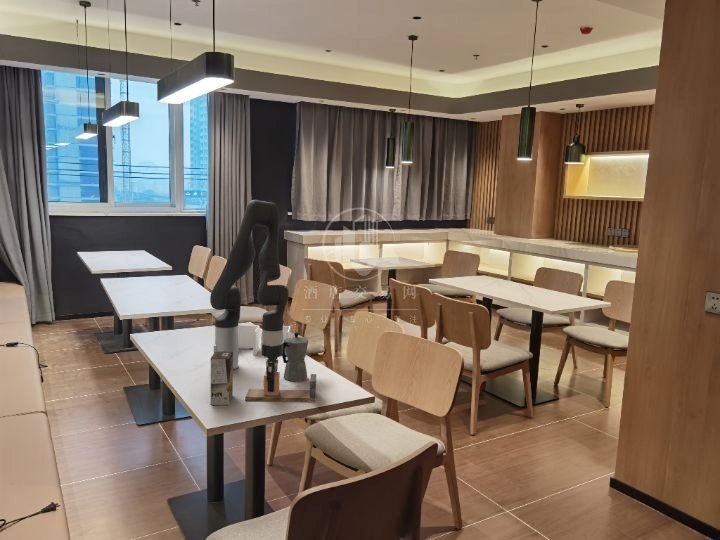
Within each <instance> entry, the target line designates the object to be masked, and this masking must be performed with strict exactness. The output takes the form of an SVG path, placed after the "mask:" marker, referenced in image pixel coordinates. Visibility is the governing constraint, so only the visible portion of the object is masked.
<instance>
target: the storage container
mask: <svg viewBox="0 0 720 540" xmlns="http://www.w3.org/2000/svg"><path fill="white" fill-rule="evenodd" d="M286 338H291V326H290V325H283V343H284V340H285V339H286ZM249 348H253V349H252V356H257V353H258V352H259V349H260V325H257V324H256V325H255V324H253V325H252V324H251V325H250V324H238V349H249ZM285 355H286V352H285Z"/></svg>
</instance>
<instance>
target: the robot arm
mask: <svg viewBox="0 0 720 540" xmlns="http://www.w3.org/2000/svg"><path fill="white" fill-rule="evenodd" d="M240 223H241V224H240V228H239V231H238V233H237V235H236V238H235V240H234V242H233V245H232V247H231V250H230V252H229V254H228V257H227V259H226V262H225V264H224V267H223V269H222V271H221V274H220V275H219V277H218V279H217V281H216V283H215V284H214V286H213V288H212V291H211V293H210V297H209V302H210V306H211V307H212V309H214V310H215V311H224V312H223V313H221V314H220V315H219V316H217V317H216V318H214V319H215V320H214V345H213V354H214V353H215V352H221V351H230V352H233V370H235V369H237V368H238V367H239V348H238V325H239V322H240V318H241V302H242V295H241V291H240V289H239V288H238V286H236V285H235V283H237V282H238V281H239V280H240V279H241V278H243V277H244V276H245V275H246V274H247V273H248V272H249V270H250V269H251V267H252V266H253V263H254V261H255V257H256V254H257V253H256V248H255V244H254V242H253V238H252V232H253V229H254V228H255V227H261V228H266V229H267V235H266V236H267V237H266V240H265V242H264V244H263V245H262V247H261V250H260V252H259V254H258V267H259V274H260V275H259V285H258V290H257V294H256V295H257V296H256V297H257V298H256V299H257V301H258V303H259V304H260V305H261V306H264V307H267V306H275V308H274V309H272V310H269V311H267V312H264V313H263V314H262V320H261V321H262V323H261V325H262V328H261V329H262V330H261V331H262V332H261V345H260V347H261V349H260V353H261V354H260V355H261V356H262V357H264V358H267V359H266V361H265V370H266V371H265V372H266V374H267V379H266V381H267V382H268V392H274V381H275V375H276V372H278V366H279V359H278V358H280V357H282V355H283V326H284V315H285V310H286V307H287V305H288V301H289V296H290V295H289V289H288V288H287V286H286V285H284V284H268V283H269V282H274V281H277V280H278V279H280V277H281V275H282V274H281V266H280V265H281V264H280V260H279V235H280V233H279V231H280V230H279V227H280V225H279V223H280V214H279V208H278V206H277V204H276V203H274V202H272V201H265V200H258V199H253V200H250V201H249V202H248V204H247V206H246V207H245V209H244V213H243V217H242V220H241V222H240ZM269 376H272V378H269Z"/></svg>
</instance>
